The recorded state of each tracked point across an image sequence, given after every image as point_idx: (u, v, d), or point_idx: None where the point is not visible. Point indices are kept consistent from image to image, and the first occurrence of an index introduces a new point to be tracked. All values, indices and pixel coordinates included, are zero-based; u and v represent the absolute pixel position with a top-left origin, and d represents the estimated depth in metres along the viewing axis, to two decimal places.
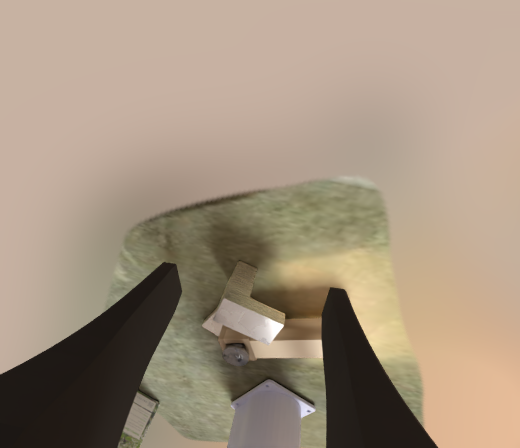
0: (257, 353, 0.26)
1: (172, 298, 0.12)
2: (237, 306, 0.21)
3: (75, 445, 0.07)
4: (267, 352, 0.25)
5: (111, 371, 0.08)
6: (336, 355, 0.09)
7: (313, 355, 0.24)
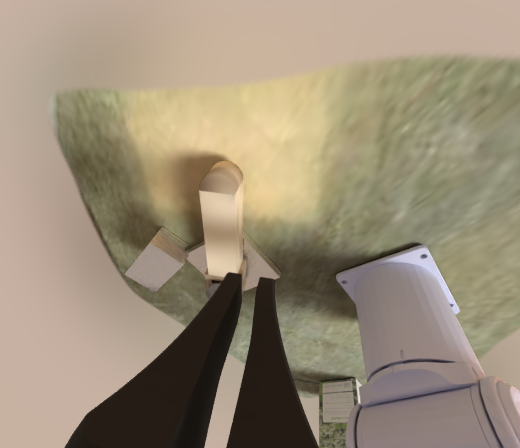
0: None
1: (237, 309, 0.12)
2: (132, 269, 0.22)
3: None
4: (226, 266, 0.22)
5: (203, 390, 0.08)
6: None
7: (229, 224, 0.19)
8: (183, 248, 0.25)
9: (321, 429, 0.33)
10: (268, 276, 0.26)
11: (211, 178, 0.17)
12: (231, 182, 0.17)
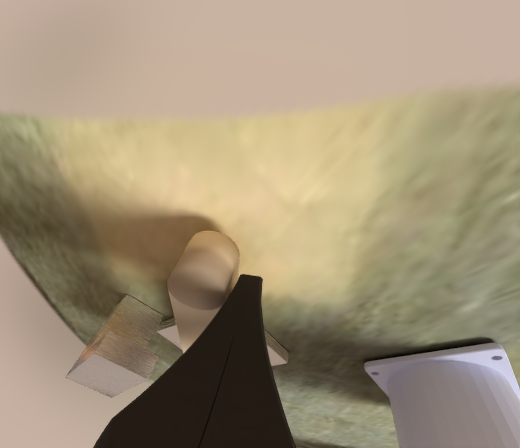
0: None
1: None
2: (75, 374, 0.15)
3: None
4: None
5: None
6: None
7: None
8: (156, 323, 0.18)
9: None
10: (272, 360, 0.19)
11: (187, 273, 0.10)
12: (220, 278, 0.10)
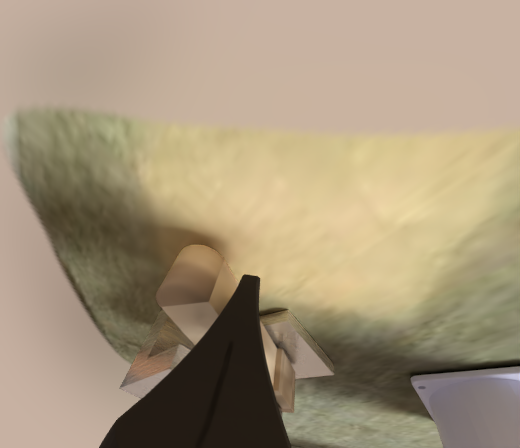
0: None
1: None
2: (134, 386, 0.14)
3: None
4: None
5: None
6: None
7: None
8: None
9: None
10: (318, 372, 0.19)
11: (165, 289, 0.11)
12: (196, 285, 0.11)
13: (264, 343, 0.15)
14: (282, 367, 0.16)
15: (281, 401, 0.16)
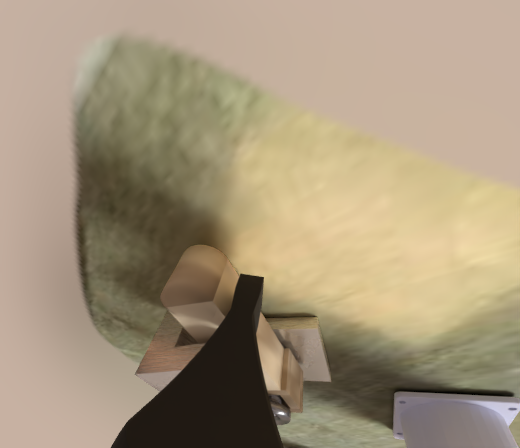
0: (267, 387, 0.15)
1: (259, 312, 0.12)
2: (157, 375, 0.13)
3: None
4: None
5: None
6: None
7: None
8: None
9: None
10: (317, 377, 0.19)
11: (170, 290, 0.11)
12: (199, 285, 0.11)
13: (270, 342, 0.15)
14: (289, 367, 0.16)
15: (289, 401, 0.16)
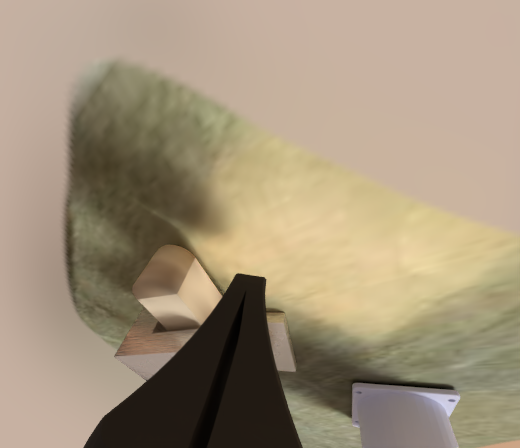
0: None
1: None
2: (134, 357, 0.14)
3: None
4: None
5: (216, 392, 0.08)
6: None
7: (195, 325, 0.14)
8: None
9: None
10: (283, 367, 0.21)
11: (139, 284, 0.12)
12: (165, 280, 0.12)
13: None
14: None
15: None
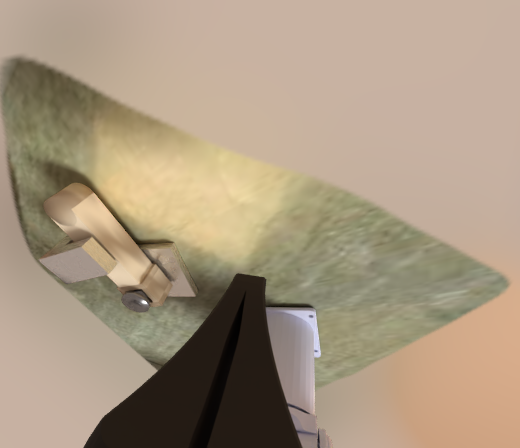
0: (131, 282, 0.23)
1: None
2: (50, 259, 0.21)
3: None
4: (122, 275, 0.23)
5: (216, 392, 0.08)
6: None
7: (91, 236, 0.21)
8: None
9: None
10: (185, 292, 0.28)
11: (47, 202, 0.19)
12: (63, 199, 0.19)
13: (134, 254, 0.24)
14: (153, 274, 0.25)
15: (149, 294, 0.24)
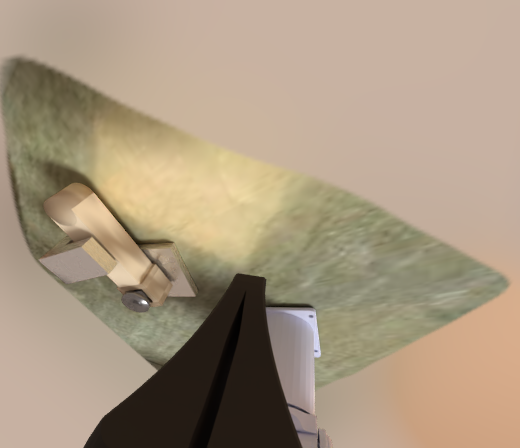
0: (131, 282, 0.23)
1: None
2: (50, 259, 0.21)
3: None
4: (122, 275, 0.23)
5: (216, 392, 0.08)
6: None
7: (91, 236, 0.21)
8: None
9: None
10: (185, 292, 0.28)
11: (47, 202, 0.19)
12: (63, 199, 0.19)
13: (134, 254, 0.24)
14: (153, 274, 0.25)
15: (149, 294, 0.24)
